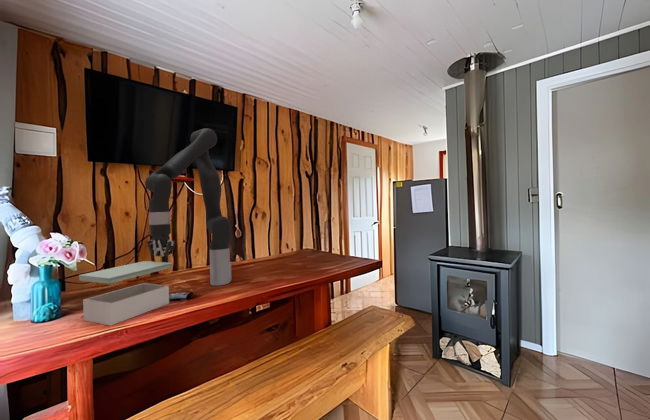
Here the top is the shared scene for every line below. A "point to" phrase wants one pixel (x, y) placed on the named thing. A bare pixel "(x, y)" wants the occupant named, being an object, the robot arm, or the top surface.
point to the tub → (125, 303)
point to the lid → (126, 271)
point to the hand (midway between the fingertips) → (161, 264)
